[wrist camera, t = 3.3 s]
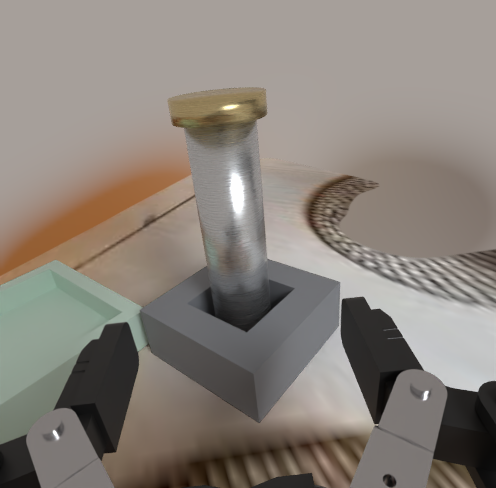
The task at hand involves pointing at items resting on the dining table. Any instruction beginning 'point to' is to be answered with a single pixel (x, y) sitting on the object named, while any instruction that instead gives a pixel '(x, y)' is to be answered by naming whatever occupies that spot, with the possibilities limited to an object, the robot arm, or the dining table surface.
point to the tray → (50, 338)
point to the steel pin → (229, 196)
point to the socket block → (244, 336)
